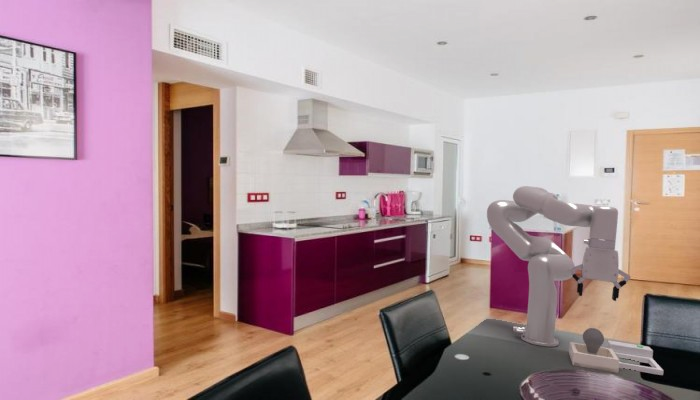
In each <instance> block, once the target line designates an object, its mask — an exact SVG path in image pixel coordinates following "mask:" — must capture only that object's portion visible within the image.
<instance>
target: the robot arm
mask: <svg viewBox="0 0 700 400" xmlns="http://www.w3.org/2000/svg"><path fill="white" fill-rule="evenodd" d="M512 199H513V200H507V199H506V200H505V199H498V200H495V201H492V202H491V203H490V204H489V205H488V207H487V209H486V217H487V223H488V225H489V227H490V228H491V230H492V231H493V232H494V233H495V235H497V236H498V237H499V238H500V239H501V240H502V241H503V242H504V244H506V245H507V247H509V248H510V250H511V251H512V252H513V253H514V254H515V255H516V256H517V257H518V258H519V259H520V260H522V261H525V262H526V261H527V262H528V264H527V272H528V283H529V284H528V302H527V303H528V304H527V314H526V315H527V317H526V324H525V326H517V325H513V329H512V331H513V332H515V333H517V334H521V336H520V339H521V340H522V341H524V342H526V343H528V344H531V345H534V346H540V347H549V348H550V347H553V348H554V347H557V346H559V344H560V343H559V342H560V341H559V339H557V338H555V333H556V321H557V320H556V318H557V305H558V289H557V287H556V283H555V282H556V281H559V282H560V281H561V282H562V281H567V280H570V279H572V278H573V279H574V281H576V282H577V287H576V292H577V294H578V296H579V297H582V296H583V293H584V290H583V289H584V284H583V282H584V281H585V280H592V281H600V282H607V283H612V284H613V285H614V286H613V287H612V296H611V300H613V301H614V302H616V301H617V299H619V297H620V295H619V294H620V289H621V288H623V287H624V286H625V285H626V284H627V283H628V281H629V280H630V279H631V275H629V274H628V273H626V272H625V271H623V270H622V269H620V268H619V261H620V260H619V252H618V250H616V242H617V231H618V230H617V229H618V219H619V211H618V208H616V207H613V206H600V205H596V206H595V205H591V204H585V203H584V204H581V203H571V202H567V201H564V200H561V199H559V198H558V195H556V194H555V193H553V192H549V191H547V190H546V189H545V188H543V187H538V186H528V185H526V186H525V185H523V186H520V187H518V188H516V189H515V191H514V192H513V194H512ZM537 214H539V215H542V216H544V217H545V218H546V219H548V220H550V221H552V222H555V223H558V224H561V225H563V226H569V227H579V228H580V227H582V228H583V227H584V228H589V235H588V236H589V237H588V238H586V239H583V244H586V245H587V247H586V248H585V250H584V254H583V256H582V257H583V259H582V263H581V264H578V265H575V263H574V261H573V259H572V258H571V257H570V256H569V255H568V254H567V253H566V252H565V251H564V250H563V249H562V248H560V246H558V244H556V243H555V242H554V241H553V240H552V239H549V238H548V237H545V236H534V235H530V234H529V233H527V232H526V231H525V230H524V229H523V228H522V227H521V226H520V225H518V224H517V223H522V222H525V221H528V220H529V219H530V218H532V217H534V216H536V215H537ZM579 270H581V272H580V273H581V275H580V276H578V275H577V274H576V272H577V271H579ZM619 275H620V276H621V277H623V278H622V280H620V281H619V282H618V279H619Z"/></svg>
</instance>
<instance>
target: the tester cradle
mask: <svg viewBox="0 0 700 400" xmlns="http://www.w3.org/2000/svg"><path fill="white" fill-rule="evenodd" d="M606 344H607V345H606V348H610V349H612V350H613V351H614V353H615V354H616V356H617V357H621V358H626V359H631V360H635V361H634V362H637V361H639V363H645V364H649V365H650V366H645V365H639V364H633V363H627V362H621V361H620V359H619V369H623V368H625V369H624V370H629V369H631V370H630V371H634V370H636V371H635V372H641V373H647V374H652V375H657V376H658V375H659V376H664V369H663V368H662V367H661V365H659V364H658V363H657V362H656V360H654V357H653V356H654V350H653V349H652V348H651V347H650V346H647V345H643V344H638V343H637V344H634V343H627V342H621V341H614V340H607V343H606ZM631 360H630V361H631Z"/></svg>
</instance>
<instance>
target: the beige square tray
mask: <svg viewBox="0 0 700 400" xmlns="http://www.w3.org/2000/svg"><path fill="white" fill-rule="evenodd" d="M568 350H569V351H568V355H569V359H570V360H571V364H572V366H576V367H580V368H586V369H590V370H591V369H593V370H598V371H602V372H610V373H613V374H614V373H615V374H619V372H620V370H619V369H620V368H619V360H620V359H619V358H618V357H617V356H616V354H615V353H614V351H613V350H612V349H610V348H607V347H603V346H600V348H599V350H598V352H597V355H592V354H587V353H588V351H587V347H586V344H585V343H579V342H574V341H573V342H572V341H571V342H569V349H568Z"/></svg>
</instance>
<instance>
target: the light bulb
mask: <svg viewBox="0 0 700 400" xmlns="http://www.w3.org/2000/svg"><path fill="white" fill-rule="evenodd" d="M582 341H583V343H584V344H586V347H587V351H588V353H587V354H592V355H597V352H598V350H599V348H600V347H602V345H603V344H604V341H605V337H604V334H603V333H602V331H600V330H599V329H597V328H594V327H590V328H587V329H585V330H584V331H583V333H582Z"/></svg>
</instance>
